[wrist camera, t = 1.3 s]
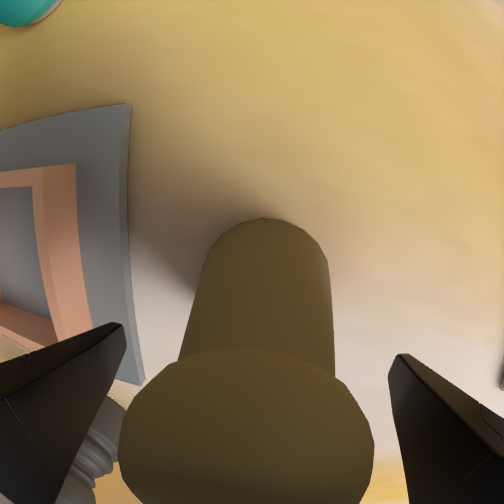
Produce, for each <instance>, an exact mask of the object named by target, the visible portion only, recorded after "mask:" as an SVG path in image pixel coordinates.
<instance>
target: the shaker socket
mask: <svg viewBox="0 0 504 504" xmlns="http://www.w3.org/2000/svg"><path fill="white" fill-rule="evenodd" d="M131 111H132V106H131V105H127V104H116V105H108V106H101V107H95V108H89V109H83V110H78V111H73V112H68V113H63V114H58V115H54V116H50V117H46V118H41V119H38V120H34V121H30V122H27V123H23V124H20V125H16V126H13V127H10V128H7V129H4V130H1V131H0V333H1V334H2V335H4V336H6V337H8V338H10V339H12V340H14V341H16V342H18V343H20V344H22V345H24V346H26V347H28V348H30V349H32V350H34V351H36V350H39V349H41V348H44V347H47V346H49V345H52V344H55V343H57V342H60V341H62V340H65V339H68V338H70V337H73V336H76V335H78V334H81V333H83V332H86V331H88V330H91V329H94V328H96V327H99V326H101V325H104V324H107V323H109V322H116V323H120V324H122V325H123V326H124V331H125V336H126V342H127V349H126V352H125V354H124V357H123V359H122V361H121V364H120V366H119V369H118V371H117V374H116V376H115V379H117V380H121V381H124V382H127V383H131V384H134V385H138V386H141V385H142V384H143V382H144V380H145V374H144V369H143V363H142V358H141V352H140V346H139V340H138V334H137V327H136V320H135V312H134V304H133V295H132V285H131V273H130V260H129V244H128V216H127V178H128V150H129V134H130V122H131Z"/></svg>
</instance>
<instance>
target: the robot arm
mask: <svg viewBox="0 0 504 504" xmlns="http://www.w3.org/2000/svg"><path fill="white" fill-rule="evenodd" d="M126 349H127V342H126V336H125V331H124V326H123V325H122V324H120V323H116V322H109V323H107V324H104V325H101V326H99V327H96V328H94V329H91V330H88V331H86V332H83V333H81V334H78V335H76V336H73V337H70V338H68V339H65V340H62V341H60V342H57V343H55V344H52V345H49V346H47V347H44V348H41V349H39V350H36V351H33V352H31V353H29V354H25V355H23V356H20V357H17V358H14V359H11V360H8V361H5V362H2V363H0V504H55V502H56V500H57V498H58V495H59V493H60V491H61V488H62V486H63V484H64V481H65V479H66V477H67V474H68V472H69V470H70V468H71V466H72V463H73V461H74V459H75V457H76V455H77V453H78V451H79V449H80V446H81V444H82V442H83V440H84V438H85V436H86V434H87V432H88V430H89V428H90V426H91V424H92V422H93V420H94V418H95V416H96V414H97V412H98V411H99V409H100V407H101V405H102V403H103V401H104V399H105V397H106V395H107V393H108V392H109V390H110V388H111V386H112V384H113V381H114V379H115V376H116V374H117V371H118V369H119V366H120V364H121V361H122V359H123V357H124V354H125V352H126ZM388 384H389V390H390V398H391V405H392V413H393V418H394V423H395V427H396V432H397V436H398V441H399V446H400V451H401V456H402V461H403V466H404V472H405V478H406V484H407V490H408V497H409V504H504V418H502V417H500V416H499V415H497V414H496V413H494V412H493V411H491V410H490V409H488V408H487V407H485V406H484V405H482V404H481V403H480V404H479V402H478V401H476V400H475V399H474V398H472V397H471V396H469V395H468V394H466V393H465V392H463V391H462V390H461V389H459V388H458V387H456V386H455V385H453V384H452V383H450V382H449V381H448V380H446V379H445V378H443V377H442V376H440V375H439V374H437V373H436V372H434V371H433V370H432V369H430V368H429V367H427V366H426V365H424V364H423V363H421V362H420V361H419V360H417V359H416V358H414V357H413V356H411V355H410V354H398V355H397V356H396V357H395V359H394V361H393V364H392V366H391V368H390V371H389V373H388Z"/></svg>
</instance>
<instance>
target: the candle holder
mask: <svg viewBox="0 0 504 504" xmlns="http://www.w3.org/2000/svg"><path fill="white" fill-rule="evenodd" d="M125 413H126V411H125V410H124V409H123V408H122V407H121V406H120V405H118V404H117V403H116V402H115V401H113V400H112V399H111V398H109V397H107V396H106V397H105V399H104V401H103V403H102V405H101V407H100V409H99V411H98V412H97V414H96V416H95V418H94V420H93V422H92V424H91V426H90V428H89V430H88V432H87V434H86V436H85V438H84V440H83V442H82V444H81V446H80V449H79V451H78V453H77V455H76V457H75V459H74V461H73V463H72V466H71V468H70V470H69V472H68V474H67V477H66V479H65V481H64V484H63V486H62V488H61V491H60V493H59V495H58V498H57V500H56V502H55V504H96V500H95V495H94V492H93V490H92V488H95V481H94V479H95V478H99V477H102V476H104V475H105V474H110V473H111V472H112V471H113V463H112V462H118V456H117V454H118V444H119V437H120V431H121V426H122V421H123V416H124V414H125Z"/></svg>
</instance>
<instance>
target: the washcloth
mask: <svg viewBox="0 0 504 504" xmlns="http://www.w3.org/2000/svg"><path fill="white" fill-rule="evenodd" d="M500 390H501V391H504V377H503V381H502V383H501V385H500Z"/></svg>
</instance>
